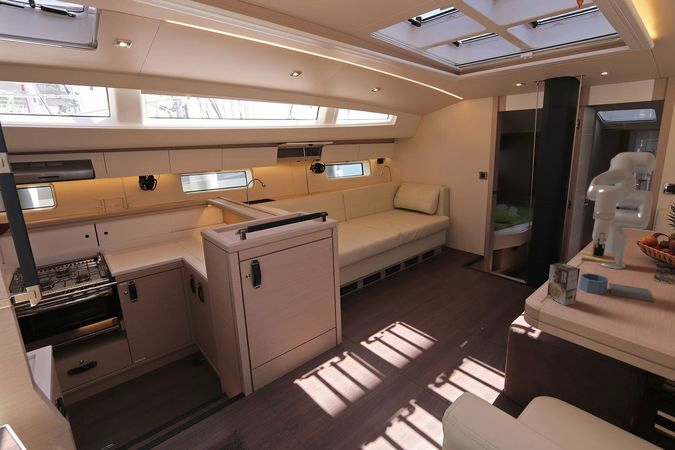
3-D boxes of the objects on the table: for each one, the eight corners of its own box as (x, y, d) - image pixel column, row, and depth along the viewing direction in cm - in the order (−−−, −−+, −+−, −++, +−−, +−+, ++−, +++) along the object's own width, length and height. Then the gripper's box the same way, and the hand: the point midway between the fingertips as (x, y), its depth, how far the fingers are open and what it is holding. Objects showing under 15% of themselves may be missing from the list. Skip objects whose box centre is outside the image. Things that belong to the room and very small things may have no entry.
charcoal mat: (608, 283, 159) (609, 282, 159) (647, 290, 151) (647, 289, 151) (611, 294, 148) (611, 293, 148) (653, 302, 140) (653, 301, 140)
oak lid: (580, 252, 159) (582, 238, 157) (612, 256, 152) (615, 241, 150) (581, 260, 149) (583, 245, 147) (615, 264, 143) (618, 249, 141)
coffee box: (575, 303, 141) (581, 268, 138) (564, 306, 140) (569, 271, 136) (556, 294, 150) (561, 261, 146) (545, 296, 148) (550, 263, 144)
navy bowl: (578, 283, 161) (580, 271, 159) (604, 287, 155) (606, 275, 154) (579, 290, 153) (580, 279, 151) (606, 295, 147) (608, 283, 146)
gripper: (592, 211, 154) (587, 247, 159) (594, 219, 141) (588, 258, 146) (612, 212, 150) (606, 249, 155) (616, 220, 137) (610, 261, 141)
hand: (597, 253), depth 150 cm, fingers closed on oak lid, 4 cm apart
